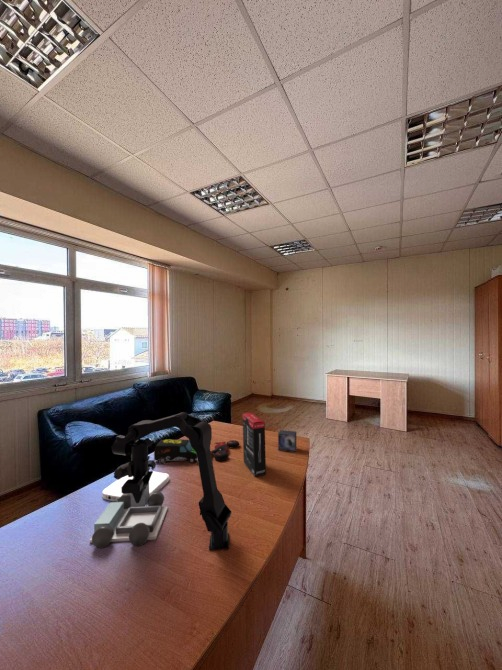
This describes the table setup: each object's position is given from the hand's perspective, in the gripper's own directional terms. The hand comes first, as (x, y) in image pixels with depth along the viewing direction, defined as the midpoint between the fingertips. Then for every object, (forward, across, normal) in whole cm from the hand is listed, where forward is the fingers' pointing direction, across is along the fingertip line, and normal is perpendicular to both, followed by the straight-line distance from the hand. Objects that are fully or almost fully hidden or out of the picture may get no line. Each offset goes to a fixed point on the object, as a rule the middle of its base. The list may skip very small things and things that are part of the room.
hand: (140, 498), depth 99 cm
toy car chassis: (+10, 0, -3) cm, 10 cm away
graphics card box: (+10, -38, +45) cm, 60 cm away
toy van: (+10, -53, +2) cm, 54 cm away
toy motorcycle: (+10, -61, +27) cm, 67 cm away
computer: (+10, -25, -10) cm, 29 cm away
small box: (+10, -60, +67) cm, 90 cm away
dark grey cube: (+2, 0, 0) cm, 2 cm away
